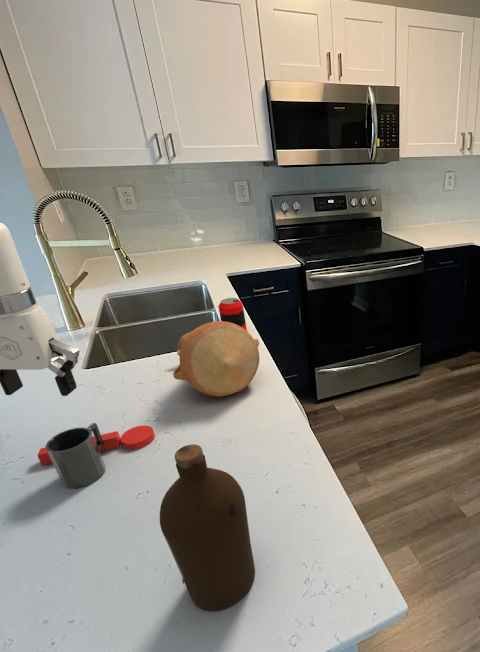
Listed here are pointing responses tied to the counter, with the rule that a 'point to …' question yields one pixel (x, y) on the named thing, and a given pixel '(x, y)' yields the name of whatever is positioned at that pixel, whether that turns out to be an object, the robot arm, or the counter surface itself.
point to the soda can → (232, 312)
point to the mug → (77, 456)
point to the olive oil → (208, 532)
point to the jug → (217, 358)
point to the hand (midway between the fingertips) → (42, 391)
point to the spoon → (115, 441)
